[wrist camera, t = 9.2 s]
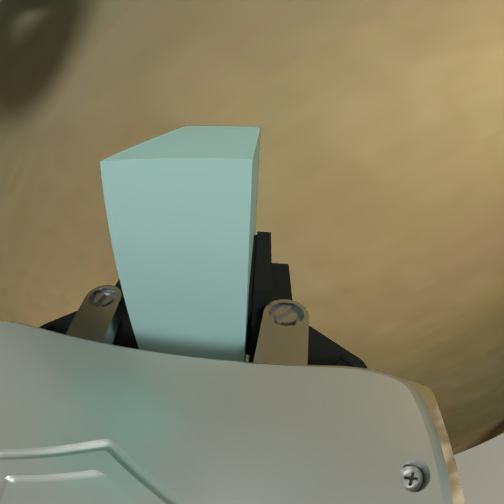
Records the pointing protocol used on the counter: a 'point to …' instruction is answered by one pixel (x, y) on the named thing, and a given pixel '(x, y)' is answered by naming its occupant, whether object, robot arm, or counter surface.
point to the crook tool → (186, 237)
